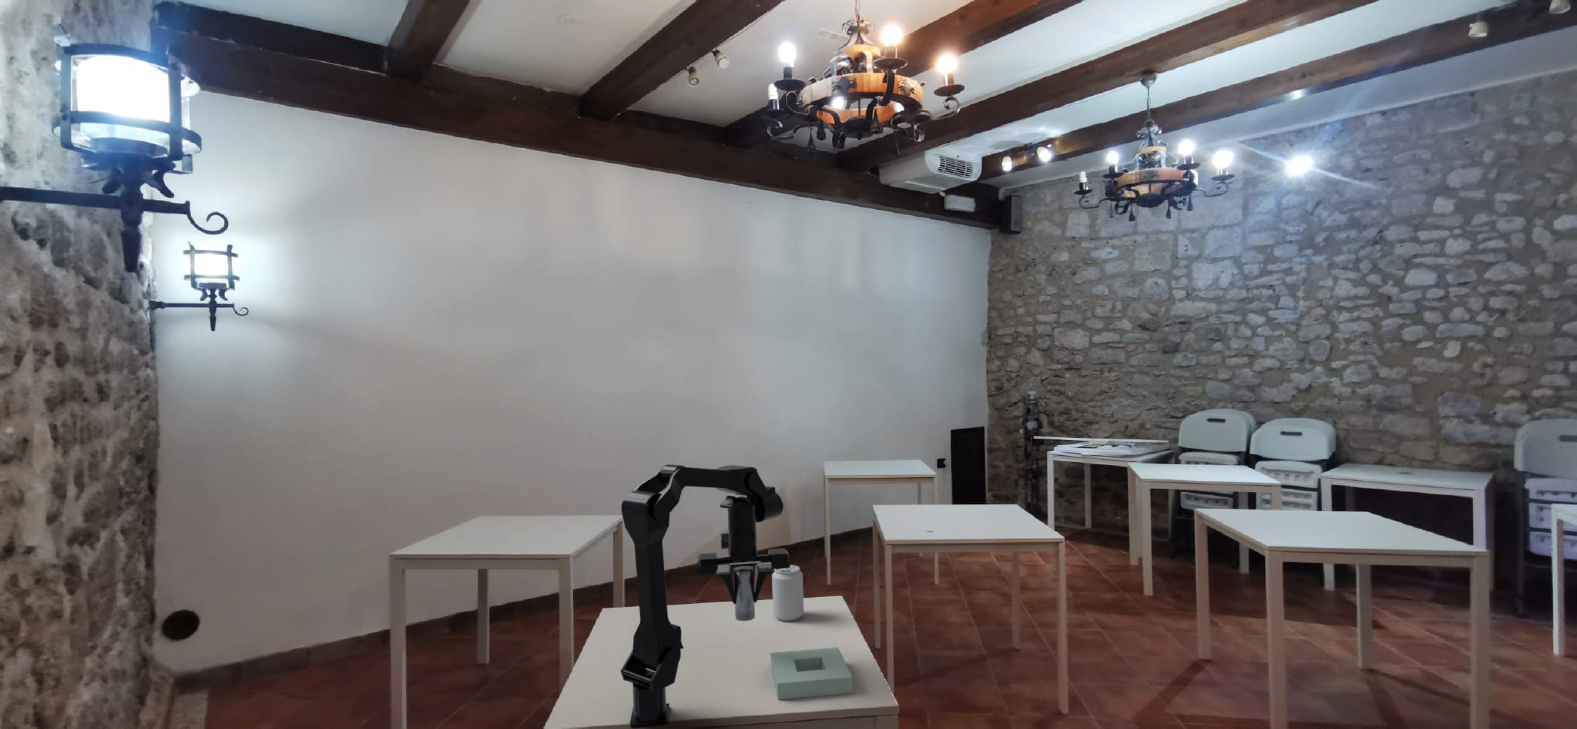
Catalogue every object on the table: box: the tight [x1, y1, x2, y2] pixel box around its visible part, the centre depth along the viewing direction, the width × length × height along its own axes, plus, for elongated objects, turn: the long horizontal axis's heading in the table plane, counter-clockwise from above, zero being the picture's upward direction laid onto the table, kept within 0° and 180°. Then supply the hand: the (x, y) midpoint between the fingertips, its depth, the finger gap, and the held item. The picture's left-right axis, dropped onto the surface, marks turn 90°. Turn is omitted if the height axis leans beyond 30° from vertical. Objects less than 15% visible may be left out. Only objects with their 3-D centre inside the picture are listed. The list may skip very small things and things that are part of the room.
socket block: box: [770, 647, 854, 701], centre depth 138 cm, size 14×14×3 cm
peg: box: [733, 565, 756, 622], centre depth 146 cm, size 4×4×10 cm
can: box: [771, 564, 805, 622], centre depth 173 cm, size 8×8×12 cm
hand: (744, 602), depth 146 cm, fingers closed on peg, 4 cm apart
